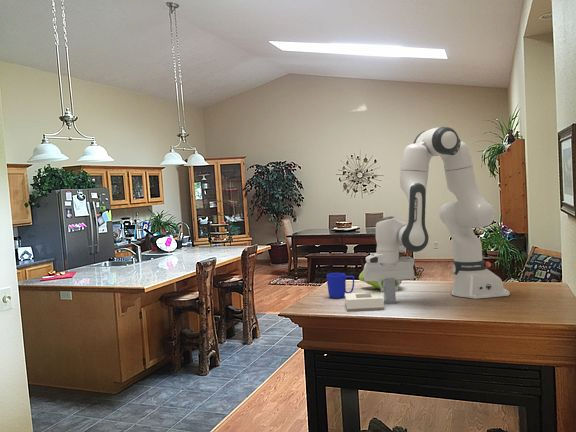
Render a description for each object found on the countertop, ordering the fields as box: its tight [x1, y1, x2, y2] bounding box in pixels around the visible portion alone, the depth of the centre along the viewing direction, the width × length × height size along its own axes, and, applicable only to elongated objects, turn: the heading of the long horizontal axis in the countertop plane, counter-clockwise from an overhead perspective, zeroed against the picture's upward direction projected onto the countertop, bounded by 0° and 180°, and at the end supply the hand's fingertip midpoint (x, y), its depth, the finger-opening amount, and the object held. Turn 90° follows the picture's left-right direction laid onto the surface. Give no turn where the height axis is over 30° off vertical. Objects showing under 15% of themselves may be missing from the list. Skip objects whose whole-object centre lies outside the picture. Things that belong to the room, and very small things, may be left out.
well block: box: [344, 291, 385, 313], centre depth 200 cm, size 14×12×4 cm
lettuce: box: [358, 269, 403, 290], centre depth 232 cm, size 15×20×14 cm
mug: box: [325, 272, 355, 299], centre depth 220 cm, size 8×12×10 cm
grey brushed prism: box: [383, 278, 397, 305], centre depth 205 cm, size 4×5×10 cm
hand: (389, 291), depth 205 cm, fingers closed on grey brushed prism, 4 cm apart
